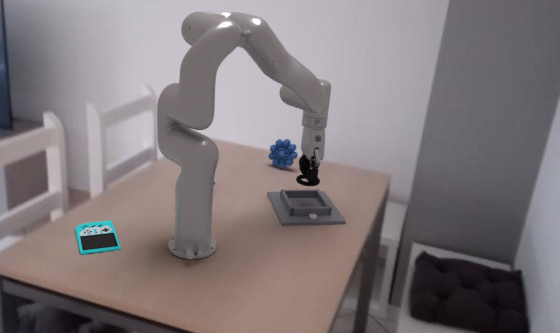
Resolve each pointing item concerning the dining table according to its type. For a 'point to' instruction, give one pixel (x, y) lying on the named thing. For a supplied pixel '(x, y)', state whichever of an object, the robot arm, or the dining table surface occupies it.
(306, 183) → the webcam
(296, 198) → the housing
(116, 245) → the handheld game console
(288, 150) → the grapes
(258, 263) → the dining table surface
